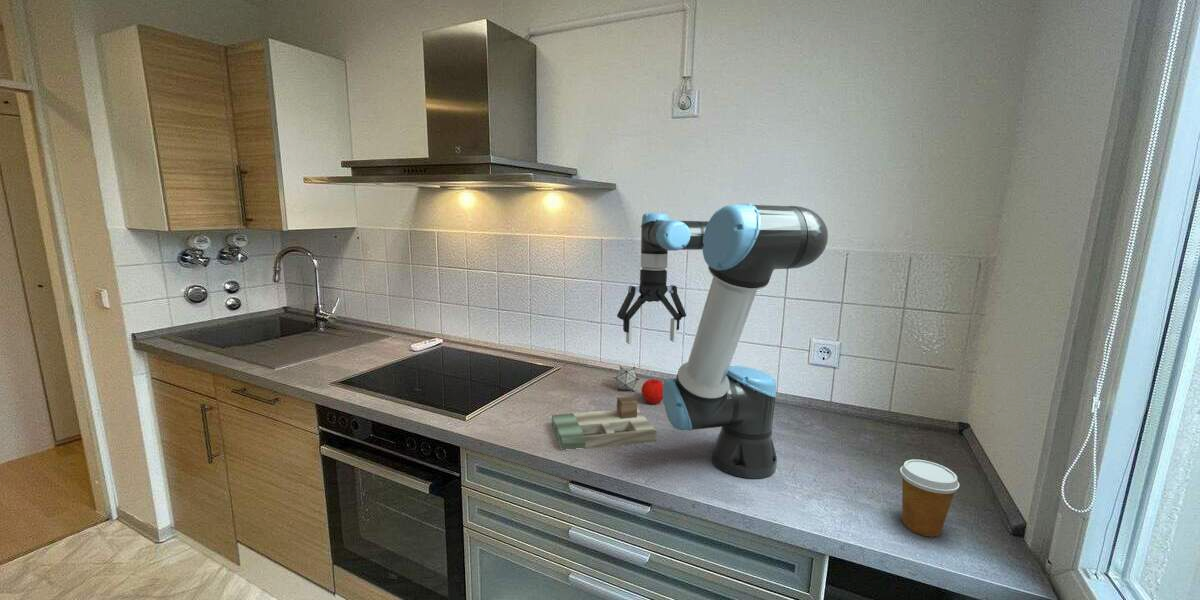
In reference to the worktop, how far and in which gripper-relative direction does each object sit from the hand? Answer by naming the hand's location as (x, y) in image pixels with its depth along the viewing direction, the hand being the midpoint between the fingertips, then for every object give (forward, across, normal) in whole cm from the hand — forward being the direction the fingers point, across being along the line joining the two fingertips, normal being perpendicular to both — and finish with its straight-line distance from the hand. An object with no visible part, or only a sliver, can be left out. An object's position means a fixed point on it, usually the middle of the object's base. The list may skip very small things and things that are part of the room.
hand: (651, 342), depth 141 cm
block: (+19, +8, +5) cm, 22 cm away
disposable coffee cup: (+24, -34, +61) cm, 74 cm away
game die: (+22, 0, -21) cm, 31 cm away
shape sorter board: (+22, +16, +8) cm, 29 cm away
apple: (+22, -5, -9) cm, 25 cm away
